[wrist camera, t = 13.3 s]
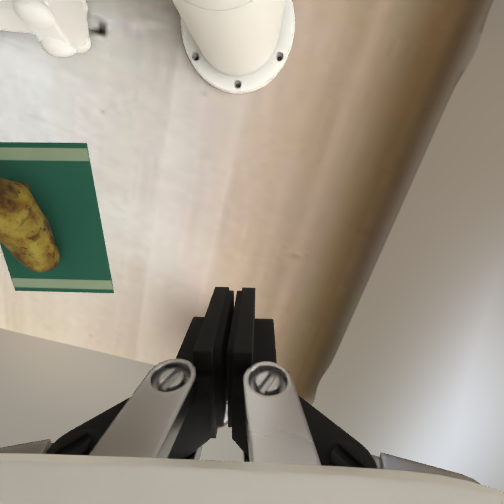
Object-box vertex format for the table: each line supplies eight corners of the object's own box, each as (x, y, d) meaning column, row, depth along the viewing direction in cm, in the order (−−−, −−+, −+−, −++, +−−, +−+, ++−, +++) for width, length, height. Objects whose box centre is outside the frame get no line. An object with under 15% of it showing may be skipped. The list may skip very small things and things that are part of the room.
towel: (-32, 142, 35) (-33, 142, 35) (86, 143, 35) (86, 143, 35) (15, 290, 42) (15, 290, 42) (114, 292, 42) (113, 293, 42)
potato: (14, 254, 40) (-42, 276, 33) (10, 168, 36) (-56, 171, 28) (69, 268, 41) (26, 292, 33) (72, 185, 36) (23, 191, 29)
